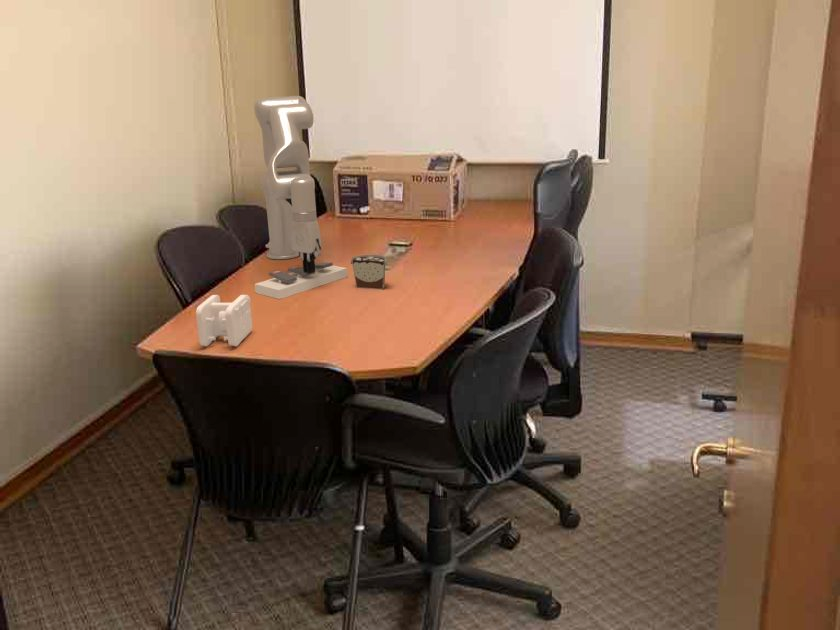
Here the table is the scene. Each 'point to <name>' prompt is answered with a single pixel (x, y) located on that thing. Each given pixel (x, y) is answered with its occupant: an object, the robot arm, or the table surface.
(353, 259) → the food container
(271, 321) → the table surface
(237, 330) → the cable organizer
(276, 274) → the rocker
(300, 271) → the rocker
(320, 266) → the rocker
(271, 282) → the rocker switch panel
